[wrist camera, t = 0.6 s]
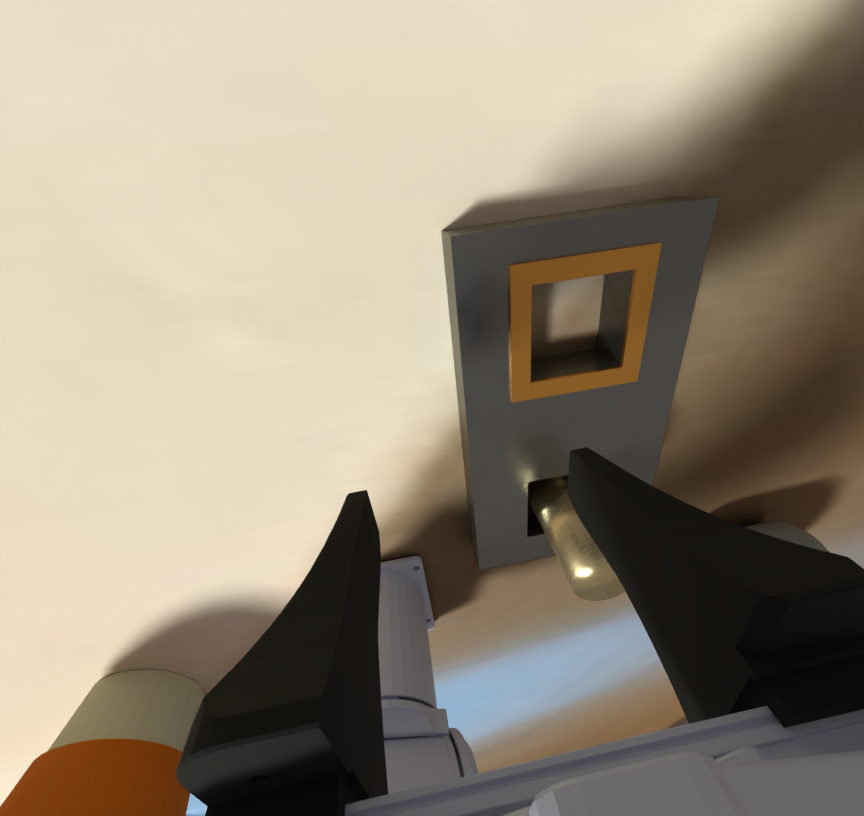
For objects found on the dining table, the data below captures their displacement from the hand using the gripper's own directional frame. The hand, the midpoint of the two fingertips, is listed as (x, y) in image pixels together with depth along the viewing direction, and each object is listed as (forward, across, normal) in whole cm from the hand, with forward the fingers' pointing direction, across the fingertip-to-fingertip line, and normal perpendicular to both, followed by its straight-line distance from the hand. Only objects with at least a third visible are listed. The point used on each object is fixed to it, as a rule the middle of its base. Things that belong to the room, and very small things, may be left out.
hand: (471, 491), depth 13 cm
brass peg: (+10, -7, +10) cm, 16 cm away
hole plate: (+10, -7, +4) cm, 13 cm away
